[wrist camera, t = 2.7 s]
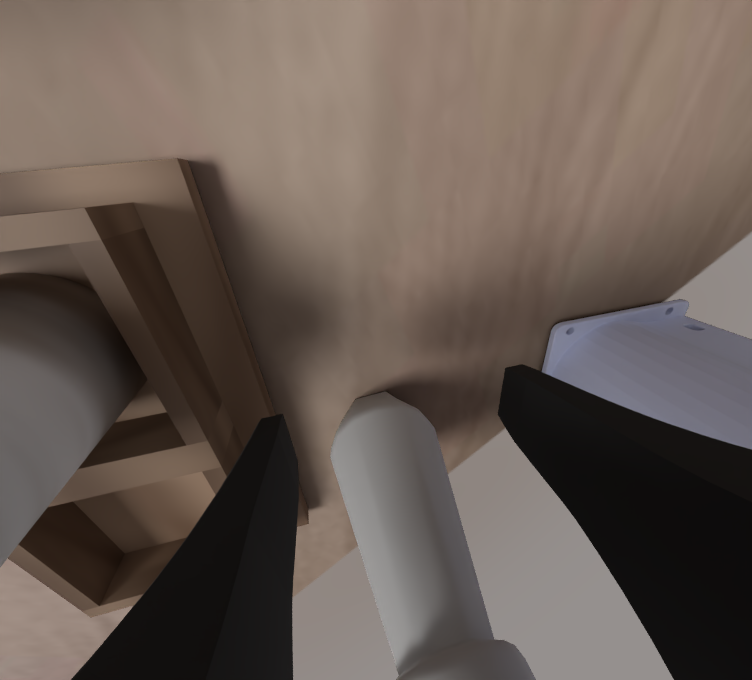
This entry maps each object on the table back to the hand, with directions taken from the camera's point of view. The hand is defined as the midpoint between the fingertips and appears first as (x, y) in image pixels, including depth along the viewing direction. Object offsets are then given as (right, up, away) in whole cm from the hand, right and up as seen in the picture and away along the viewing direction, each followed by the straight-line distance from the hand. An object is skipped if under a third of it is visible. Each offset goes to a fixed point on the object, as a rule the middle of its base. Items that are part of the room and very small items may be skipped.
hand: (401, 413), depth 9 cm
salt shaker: (-1, -2, +9) cm, 9 cm away
